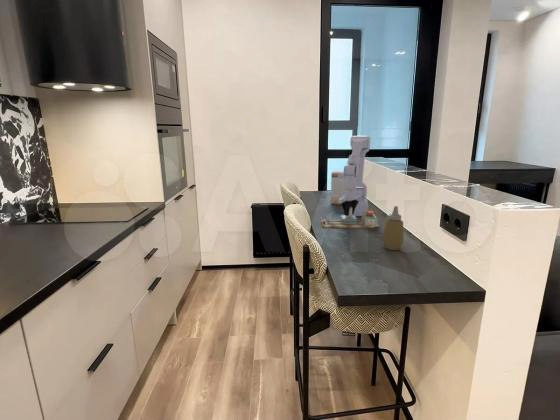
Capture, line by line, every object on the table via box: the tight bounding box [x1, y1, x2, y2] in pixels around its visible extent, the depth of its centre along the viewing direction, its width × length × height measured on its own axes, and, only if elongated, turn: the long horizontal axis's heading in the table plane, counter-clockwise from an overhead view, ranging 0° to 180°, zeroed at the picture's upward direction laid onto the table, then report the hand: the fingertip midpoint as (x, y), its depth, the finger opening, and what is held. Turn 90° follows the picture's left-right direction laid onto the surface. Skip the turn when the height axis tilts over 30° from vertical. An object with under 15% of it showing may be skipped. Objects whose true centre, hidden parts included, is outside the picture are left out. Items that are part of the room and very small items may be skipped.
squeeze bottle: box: [382, 205, 405, 251], centre depth 133 cm, size 8×8×18 cm
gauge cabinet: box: [361, 213, 378, 226], centre depth 166 cm, size 6×8×5 cm
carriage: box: [340, 207, 358, 224], centre depth 166 cm, size 7×7×8 cm
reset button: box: [365, 210, 375, 217], centre depth 165 cm, size 4×4×4 cm
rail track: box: [321, 218, 380, 229], centre depth 167 cm, size 28×9×3 cm, turn 87°
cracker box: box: [330, 170, 345, 206], centre depth 207 cm, size 14×6×21 cm, turn 58°
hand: (348, 214), depth 166 cm, fingers closed on carriage, 3 cm apart
